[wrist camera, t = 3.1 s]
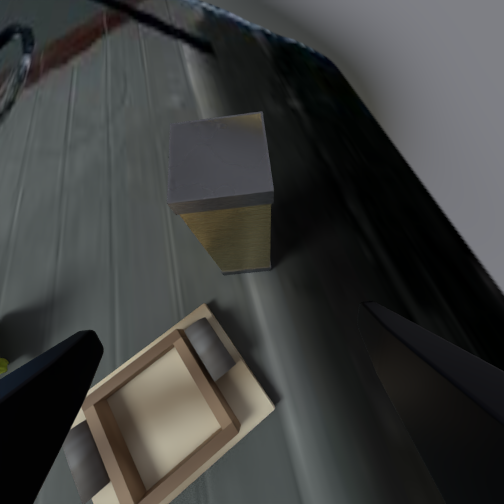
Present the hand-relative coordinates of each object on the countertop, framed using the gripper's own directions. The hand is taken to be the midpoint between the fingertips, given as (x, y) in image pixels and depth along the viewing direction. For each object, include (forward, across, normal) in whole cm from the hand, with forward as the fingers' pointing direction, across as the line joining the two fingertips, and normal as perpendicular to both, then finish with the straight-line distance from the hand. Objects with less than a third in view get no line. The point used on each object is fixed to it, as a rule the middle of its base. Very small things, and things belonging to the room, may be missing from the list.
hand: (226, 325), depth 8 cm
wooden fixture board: (+6, +7, +13) cm, 16 cm away
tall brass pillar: (+15, 0, +4) cm, 15 cm away
